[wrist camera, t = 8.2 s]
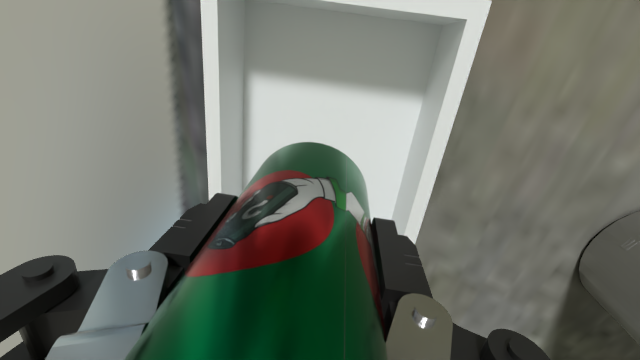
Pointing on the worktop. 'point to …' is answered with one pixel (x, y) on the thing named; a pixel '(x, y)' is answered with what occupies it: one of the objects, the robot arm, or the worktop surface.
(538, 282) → the worktop surface
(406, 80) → the tote
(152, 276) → the robot arm
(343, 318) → the soda can
